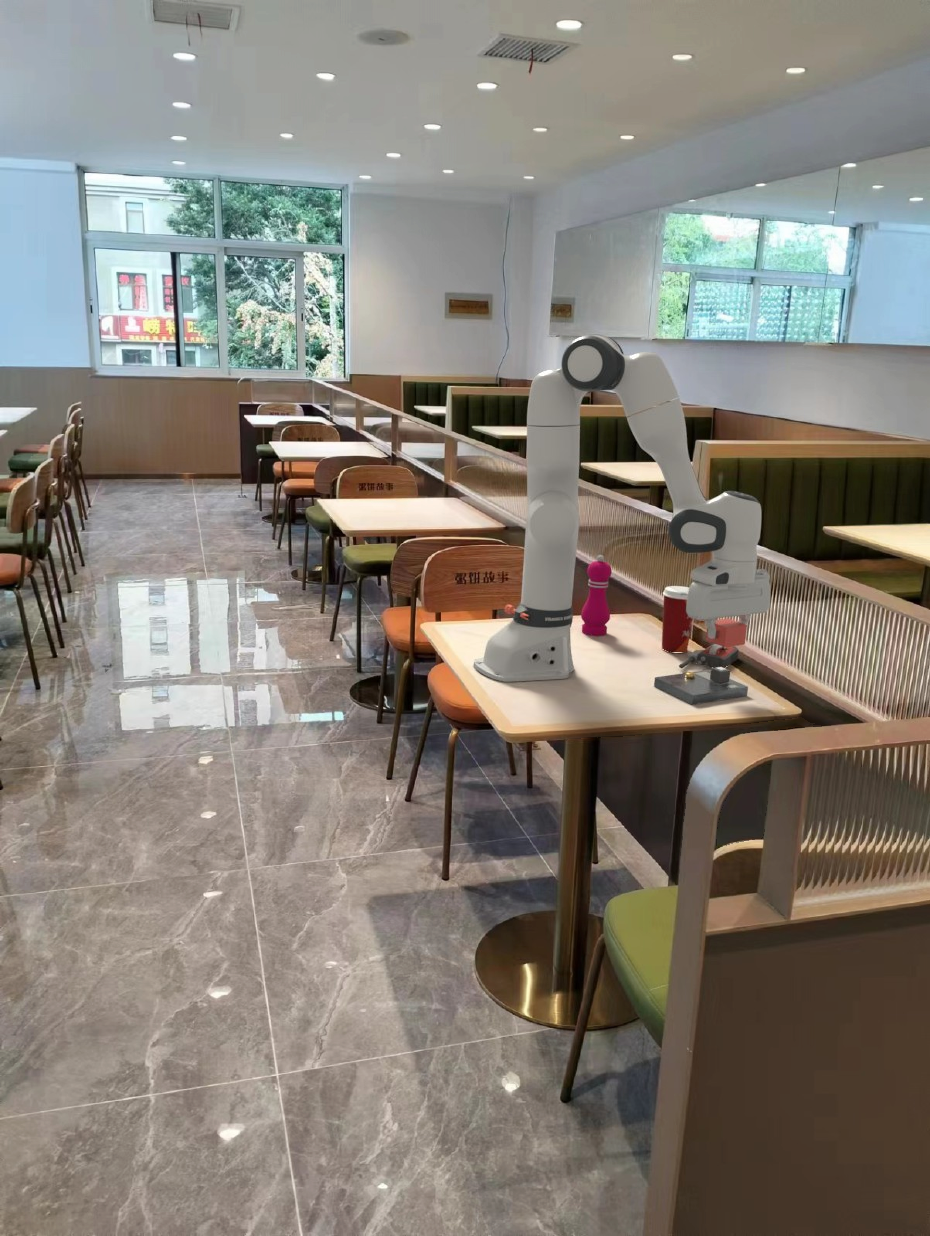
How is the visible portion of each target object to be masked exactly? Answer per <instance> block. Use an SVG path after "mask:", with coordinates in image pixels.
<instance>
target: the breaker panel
mask: <svg viewBox="0 0 930 1236" xmlns="http://www.w3.org/2000/svg"><path fill="white" fill-rule="evenodd" d="M710 674H711V669H704V670H698V671H686V672H683V673H677V674H676V673H675V674H669V675H663V676H656V677H654V683H653V687H655V688H657V689H658V690H660V691H663V692H665V693H667V694H669V695H671V696H673V697H675V698H677V699H679V700H681V701H683V700H684V702H686V703H688V704H690V705H699V704H703V703H710V702H711V703H712V702H717V701H722V700H724V701H725V700H728V699H735V698H736V699H737V698H743V697H748V690H749V686H747V685H745V684H744V683H741V682H738V681H736V680H733V679H731V678H730V679H729V682H725V683H717V682H715V681H713V680H710ZM698 703H699V704H698Z"/></svg>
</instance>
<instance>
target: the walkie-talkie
mask: <svg viewBox="0 0 930 1236" xmlns="http://www.w3.org/2000/svg"><path fill="white" fill-rule="evenodd" d="M738 656H739V649H738V648H737V646H731V647H722V646H720V645H717V644H714V643H712V644H711V645H709V646H708V647H706V648H705V649H697V650H693V651H692V652H690V653H688V654H687V659H686V660H685V661H683V662H681V663H680V664H679V665H678V667H679V669H684V668H685V667H687V666H688V665H689V664H695V663H697V664H696V665H697V666H702V665H703V667H707V666H709V667H708V668H712V667H713V668H716V667H723V668H725V667H726V666H728V667H729V666H731V665H732V664H733V663H734V662H735V661H737V660H738ZM726 668H727V667H726Z"/></svg>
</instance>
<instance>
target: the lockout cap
mask: <svg viewBox="0 0 930 1236" xmlns="http://www.w3.org/2000/svg"><path fill="white" fill-rule="evenodd" d="M714 624H715V627H716V630H719V637H718V638H715V639H711V638H708V628H707V627H706V635H705V641H707V642H709V643H712V644H717V645H720V646H722V647H731V646H735V647H737V646H743V645H746V637H747V629H748V628H747V627H748V624H747V625H745V624H742V623H740V622H738V620H734V619H731V618H729V617H726V618H718V619H717V623H714Z"/></svg>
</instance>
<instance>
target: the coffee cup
mask: <svg viewBox="0 0 930 1236" xmlns="http://www.w3.org/2000/svg"><path fill="white" fill-rule="evenodd" d="M689 587H690V586H689ZM689 587H688V586H680V585H669V586H666V587H665V589H664V591H663V592H662V595H663V610H662V611H663V613H662V628H661V629H662V631H661V649H664V650H666V651H668V652H667V653H670V652H685V653H687V652H686V651H688V648H689V641H690V637H691V631H692V626H693V620H694V619H693V618H690V617H689V616H688V614H687V612H686V605H687V597H688V591H689ZM664 650H663V651H664ZM666 651H665V652H666Z"/></svg>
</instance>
